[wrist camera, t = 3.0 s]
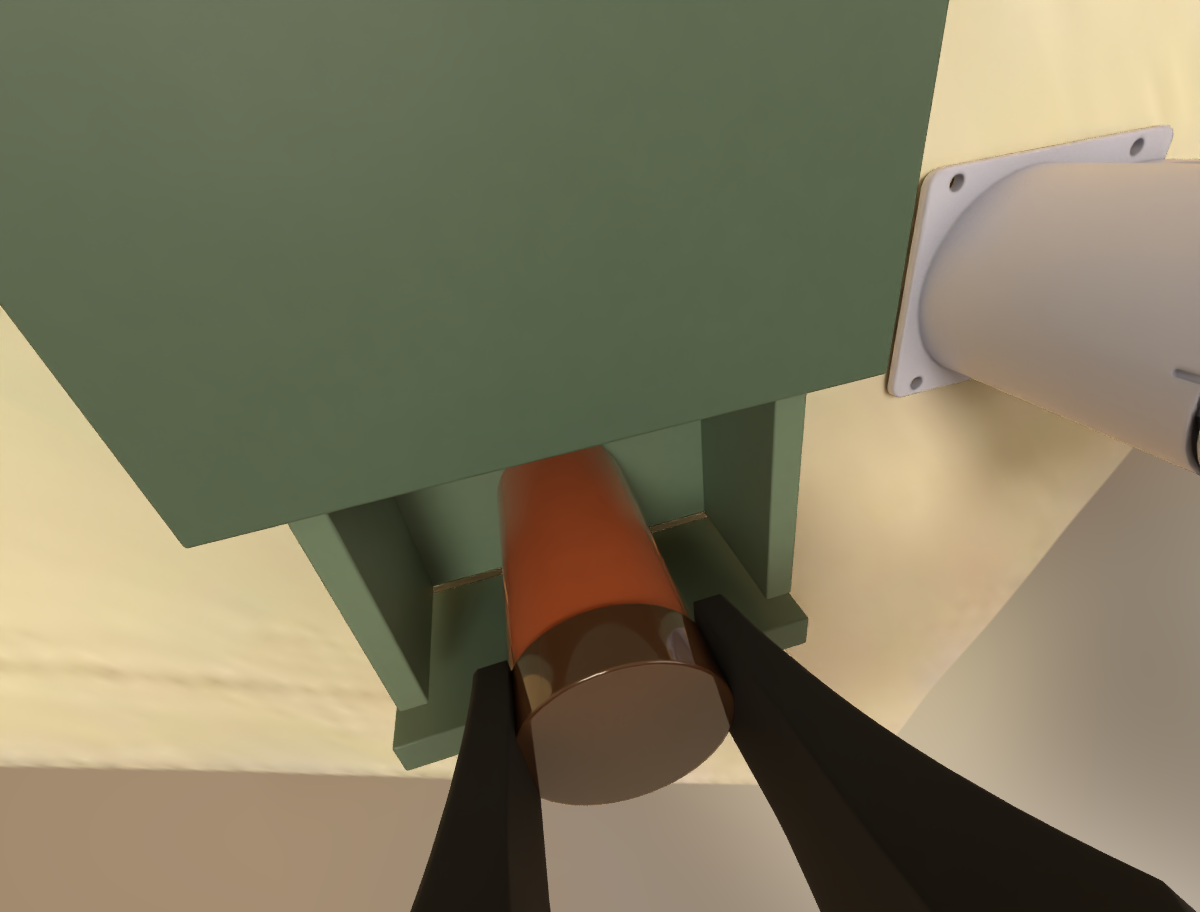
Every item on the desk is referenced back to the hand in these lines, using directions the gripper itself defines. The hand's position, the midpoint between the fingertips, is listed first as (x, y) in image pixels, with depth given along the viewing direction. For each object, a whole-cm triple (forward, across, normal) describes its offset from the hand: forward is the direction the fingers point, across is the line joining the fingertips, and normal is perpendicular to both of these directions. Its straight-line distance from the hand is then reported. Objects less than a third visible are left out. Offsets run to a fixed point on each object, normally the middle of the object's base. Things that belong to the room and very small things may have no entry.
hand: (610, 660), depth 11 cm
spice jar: (+7, 0, 0) cm, 7 cm away
